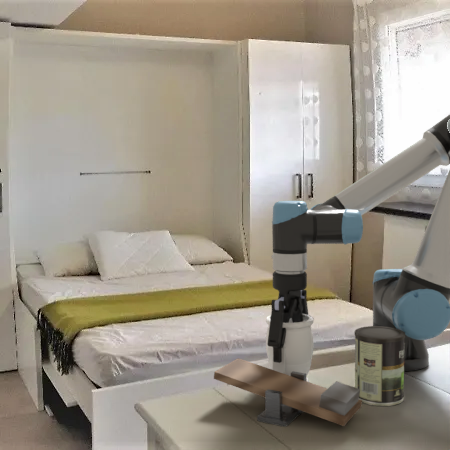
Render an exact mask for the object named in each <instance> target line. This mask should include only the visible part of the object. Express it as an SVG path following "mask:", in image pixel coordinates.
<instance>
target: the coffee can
mask: <svg viewBox="0 0 450 450" xmlns="http://www.w3.org/2000/svg"><path fill="white" fill-rule="evenodd" d="M353 334H354V339H355V340H354V387H355V388H358V389H360V394H359V399H360V400H362V404H365V405H370V406H377V407H391V406H396V405H400V404H401V403H403V401H405V395H404V394H405V393H404V391H405V390H404V389H405V388H404V387H405V384H404V383H405V380H404V379H405V377H404V376H405V371H404V342H405V333H404V332H403V331H402V330H399V329H396V328H392V327H384V326H373V325H369V326H363V327H358V328H356V329H355V330H354V333H353Z"/></svg>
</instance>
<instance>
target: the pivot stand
mask: <svg viewBox="0 0 450 450" xmlns="http://www.w3.org/2000/svg"><path fill="white" fill-rule="evenodd" d="M291 376H292V377H295V378H298V379H301V380H304V381H306V373H300V372H294V371H293V372H291ZM264 398H265V399H264V402H265V406H264V407H265V409H264V410H263V411H261V412H260V413H259V414H258V415H256V418H257V421H258V422H262V423H266V424H269V425H270V424H271V425H275V426H280V427H284V428H285V427H287V426H289V425H290V424H291V423H292V422H293V421H295V419H296V418H297V417H299V416H300V415H301V414H302V413H304V411H301V410H298V409H295V408H293V407H290V406H287V405H284V404H282V392H280V391H275V390H269V389H268V390H266V391H265V397H264Z"/></svg>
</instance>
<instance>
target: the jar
mask: <svg viewBox="0 0 450 450" xmlns="http://www.w3.org/2000/svg"><path fill="white" fill-rule="evenodd" d="M270 320H271V314H269V315H267V316H266V320H265V322H266V324H267V325H268V327H267V329H266V337H265V349H266V351H265V352H266V355H267V363H268V367H269V369H272V370H273V347H271V346H268V336H269V328H270ZM314 320H315V319H314V316H311V315H309V314H308V315H306V314H303V322H296V323H293V321H292V318H290V319H289V323H283V326H282V328H286V337H285V342H284V346H283V347H286V375H289V376H291V372H293V371H294V372H300V373H306V381H307V382H310V381H309V378H308V377H307V376H308V374H309V372H310V369H311V366H312V361H313V360H312V358H313V355H314V344H315V343H314V333H313V329H312V325H313V323H314Z"/></svg>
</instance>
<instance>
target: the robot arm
mask: <svg viewBox="0 0 450 450" xmlns="http://www.w3.org/2000/svg"><path fill="white" fill-rule="evenodd" d="M449 119H450V114H448V115H447V116H445V117H444V118H442V119H441V120H439V122H437V123H435V124H434V125H432V127H430V128H428V129H426V131H424V132H423V133H422V138H421V139H420V140H418V141H417V142H415V143H413V144H412V145H410V146H409V147H407V148H406V149H404V150H402V151H401V152H400V153H398V154H397V155H395V156H393V157H392V158H390V159H389V160H387V161H386V162H384V163H383V164H381V165H379V166H378V167H377V168H375V169H374V170H372V171H370V172H369V173H368V174H366V175H364V176H362V177H361V178H360V179H358V180H357V181H355V182H354V183H352V184H349V186H347V187H345V188H344V189H343V190H341V191H340V192H338V193H336V194H335V195H334V196H332V197H331V198H329V199H328V200H326V201H324V202H321V203H317V204H315V205H314V206H312V207H311V208H310V209H309V208H308V204H307V202H306V201H303V200H279V201H276V202H275V203H274V205H273V206H272V221H271V223H272V224H271V225H272V226H271V227H272V228H271V229H272V231H271V232H272V254H271V259H272V269H273V272H272V288H273V289H274V290H277V291H278V297H277V299H272V300H271V312H270V315H271V320H270V328H269V336H268V346H271V347H273V370H274V371H277V372H280V373H283V374H286V347H283V346H284V342H285V337H286V328H282V326H283V323H289V319H290V318H292V321H293V323H296V322H303V314H306V315H309V308H308V303H307V302H308V300H307V295H308V292H307V289H306V288H307V286H308V283H307V282H308V281H307V280H308V276H307V275H308V274H307V272H306V270H307V269H308V245H321V244H323V245H324V244H325V245H326V244H327V245H328V244H329V245H330V244H331V245H334V244H335V245H338V244H341V245H348V244H357V243H360V242H361V239H362V238H363V231H364V221H363V215H365V214H366V213H368V212H370V211H371V210H372V209H374V208H376V207H377V206H379V205H380V204H382V203H384V202H385V201H387V200H388V199H390V198H391V197H393V196H394V195H396V194H397V193H399V192H401V191H402V190H404V189H405V188H407V187H408V186H410V185H411V184H413V183H415V182H417V180H420V179H421V178H422V177H424V176H426V175H427V174H428V173H430V172H431V171H433V170H435V169H436V168H438V167H440V166H444V167H448V166H449V165H450V133H449V131H448V129H447V122H448V120H449ZM438 195H439V196H438V198H437V200H436V203H435V205H434V208H433V210H432V213H431V216H430V218H429V221H428V223H427V226H426V228H425V231H424V234H423V236H422V239H421V241H420V243H419V245H418V248H417V250H416V254H415V256H414V259H413V261H412V263H411V264H409V265H407V266H404V267H402V268H390V269H389V268H388V269H387V268H385V269H384V268H383V269H377V270H376V271H375V272H374V273H373V281H372V326H384V327H392V328H396V329H399V330H402V331H403V332H404V333H405V342H404V372H409V371H410V372H411V371H419V370H422V369H425V368H427V367H428V366H429V357H430V355H429V352H428V351H429V350H428V349H427V345H426V342H425V341H428V340H431V339H434V338H436V337H438V336H439V335H441V334H442V333H444V331H446V329H447V328H448V326H449V324H450V303H449V302H450V169H449V170H448V173H447V176H446V177H445V181H444V183H443V186H442V188H441V190H440V193H439V194H438Z"/></svg>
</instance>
